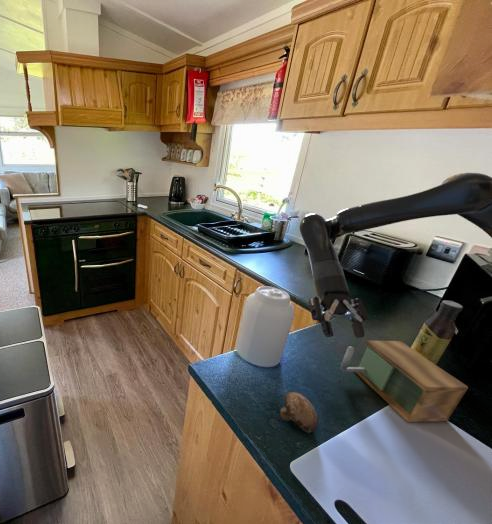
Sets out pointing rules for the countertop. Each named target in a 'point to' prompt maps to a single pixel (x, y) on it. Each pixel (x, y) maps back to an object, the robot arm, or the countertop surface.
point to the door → (370, 367)
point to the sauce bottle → (437, 332)
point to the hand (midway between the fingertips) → (345, 336)
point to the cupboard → (416, 384)
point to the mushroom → (299, 412)
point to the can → (265, 326)
